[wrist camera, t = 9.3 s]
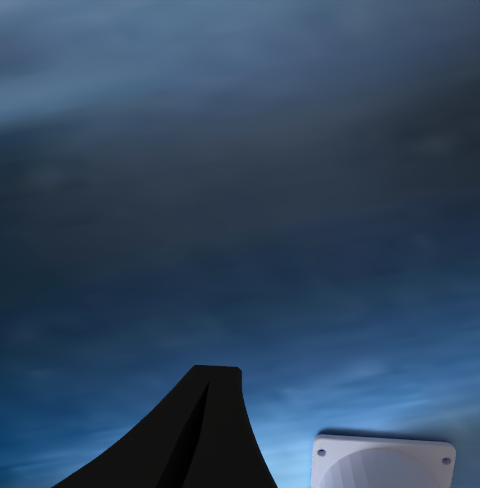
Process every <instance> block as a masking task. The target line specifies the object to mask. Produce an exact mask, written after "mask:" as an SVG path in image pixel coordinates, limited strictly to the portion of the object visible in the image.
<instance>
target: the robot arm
mask: <svg viewBox="0 0 480 488" xmlns="http://www.w3.org/2000/svg"><path fill="white" fill-rule="evenodd" d="M320 449H323V450H324V451H318V450H320ZM443 458H447V459H443ZM455 460H456V450H455V448H454V446H453V445H452V444H450V443H447V442H434V441H418V440H403V439H387V438H371V437H355V436H339V435H324V434H321V435H317V436H315V438H314V439H313V451H312V469H311V486H310V488H450V487H451V482H452V476H453V471H454V465H455ZM51 488H278V487H277V485H276V483H275V481H274V479H273V477H272V475H271V473H270V471H269V469H268V467H267V465H266V463H265V461H264V458H263V456H262V454H261V452H260V449H259V447H258V444H257V441H256V439H255V436H254V433H253V431H252V428H251V425H250V422H249V418H248V415H247V411H246V407H245V404H244V399H243V394H242V371H241V370H240V369H239V368H238V367H228V366H207V365H194V366H193V367H192V368H191V369H190V370H189V371H188V372H187V373H186V375H185V376H184V377H183V378H182V379H181V380H180V381H179V382H178V384H177V385H176V386H175V387H174V388H173V389H172V390H171V391H170V392H169V393H168V394H167V395H166V396H165V397H164V398H163V399H162V401H161V402H160V403H159V404H158V405H157V406H156V407H155V408H154V409H153V410H152V411H151V412H150V413H149V414H148V415H146V416H145V417H144V418H143V419H142V420H141V421H140V422H139V423H138V424H137V425H136V426H134V427H133V428H132V429H131V430H130V431H129V432H128V433H127V434H126V435H124V436H123V437H122V438H121V439H120V440H118V441H117V442H116V443H115V444H114V445H112V446H111V447H110V448H109V449H107V450H106V451H105V452H103V453H102V454H101V455H99V456H98V457H97V458H95V459H94V460H92V461H91V462H90V463H88V464H87V465H85V466H84V467H82V468H81V469H79V470H77V471H76V472H74V473H73V474H71V475H70V476H68V477H67V478H65V479H64V480H62V481H61V482H59V483H58V484H56V485H55V486H53V487H51Z"/></svg>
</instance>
